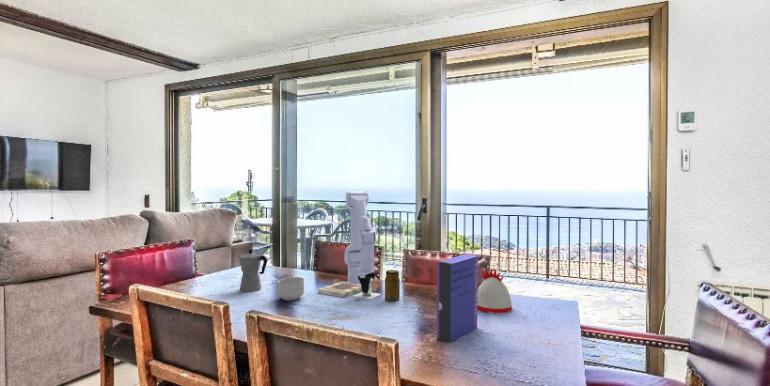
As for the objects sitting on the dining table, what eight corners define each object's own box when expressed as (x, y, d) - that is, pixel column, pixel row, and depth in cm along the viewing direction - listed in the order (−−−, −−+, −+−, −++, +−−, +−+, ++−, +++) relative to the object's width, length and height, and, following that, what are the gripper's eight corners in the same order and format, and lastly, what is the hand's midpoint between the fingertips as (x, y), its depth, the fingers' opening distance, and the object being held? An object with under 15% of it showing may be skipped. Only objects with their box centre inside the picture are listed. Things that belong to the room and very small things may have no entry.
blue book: (464, 324, 140) (464, 253, 140) (477, 327, 137) (477, 255, 136) (436, 339, 127) (437, 261, 126) (450, 343, 124) (450, 263, 123)
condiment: (393, 297, 173) (393, 268, 173) (406, 301, 167) (407, 272, 167) (379, 300, 169) (379, 271, 169) (393, 304, 162) (393, 274, 162)
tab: (364, 292, 181) (364, 291, 181) (381, 295, 176) (381, 294, 176) (352, 296, 173) (352, 295, 173) (369, 300, 169) (369, 299, 169)
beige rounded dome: (481, 300, 169) (481, 264, 168) (515, 305, 162) (515, 267, 161) (469, 309, 157) (469, 270, 156) (506, 315, 150) (506, 274, 149)
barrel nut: (365, 292, 178) (365, 276, 178) (374, 294, 176) (374, 278, 175) (359, 295, 174) (359, 278, 174) (368, 297, 171) (368, 280, 171)
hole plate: (341, 285, 192) (341, 281, 192) (366, 289, 185) (366, 285, 185) (318, 293, 179) (318, 288, 179) (344, 298, 171) (344, 293, 171)
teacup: (300, 302, 165) (300, 282, 165) (273, 302, 165) (273, 282, 165) (308, 293, 179) (308, 275, 179) (283, 293, 179) (283, 274, 179)
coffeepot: (231, 290, 183) (231, 250, 183) (245, 285, 192) (245, 247, 191) (260, 293, 178) (260, 252, 177) (273, 288, 187) (273, 248, 186)
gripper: (362, 255, 182) (362, 286, 183) (352, 261, 168) (352, 295, 169) (378, 256, 181) (378, 287, 181) (369, 262, 167) (369, 296, 167)
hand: (366, 291), depth 175 cm, fingers closed on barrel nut, 5 cm apart
